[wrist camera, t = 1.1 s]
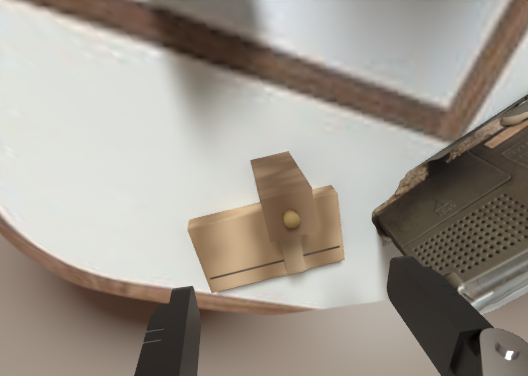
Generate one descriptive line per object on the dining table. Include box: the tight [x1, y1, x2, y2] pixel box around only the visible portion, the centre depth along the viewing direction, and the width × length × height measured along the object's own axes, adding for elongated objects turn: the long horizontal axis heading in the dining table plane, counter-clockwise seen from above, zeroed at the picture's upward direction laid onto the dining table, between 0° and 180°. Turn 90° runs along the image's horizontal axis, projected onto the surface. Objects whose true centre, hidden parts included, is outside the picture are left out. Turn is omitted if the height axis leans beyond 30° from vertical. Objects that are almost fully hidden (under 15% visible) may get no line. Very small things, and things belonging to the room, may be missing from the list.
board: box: [187, 185, 345, 293], centre depth 33 cm, size 16×9×2 cm, turn 102°
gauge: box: [250, 152, 318, 275], centre depth 28 cm, size 4×12×10 cm, turn 12°
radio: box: [372, 94, 528, 315], centre depth 27 cm, size 23×9×15 cm, turn 123°
